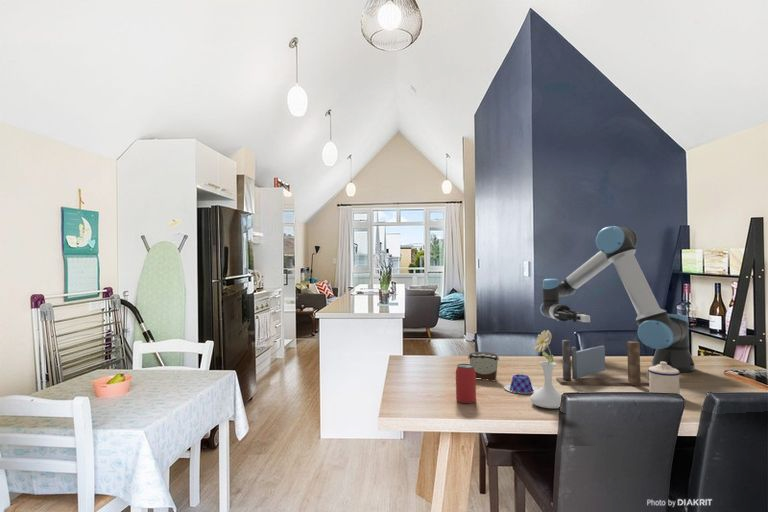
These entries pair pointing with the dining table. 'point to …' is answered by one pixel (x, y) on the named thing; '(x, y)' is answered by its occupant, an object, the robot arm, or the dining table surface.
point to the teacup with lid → (663, 378)
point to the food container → (484, 364)
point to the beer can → (465, 383)
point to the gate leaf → (587, 361)
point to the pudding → (521, 384)
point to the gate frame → (632, 379)
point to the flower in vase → (546, 376)
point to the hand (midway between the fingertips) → (587, 319)
